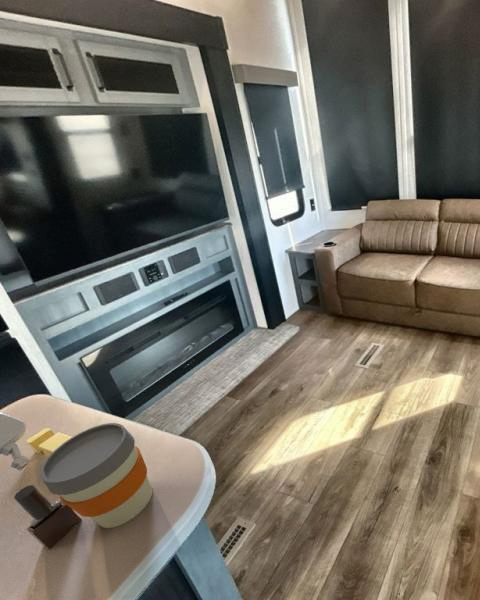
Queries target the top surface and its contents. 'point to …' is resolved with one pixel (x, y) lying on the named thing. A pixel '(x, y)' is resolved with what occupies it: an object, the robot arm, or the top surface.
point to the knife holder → (55, 526)
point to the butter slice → (39, 439)
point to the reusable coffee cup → (100, 475)
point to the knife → (36, 504)
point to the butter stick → (53, 443)
